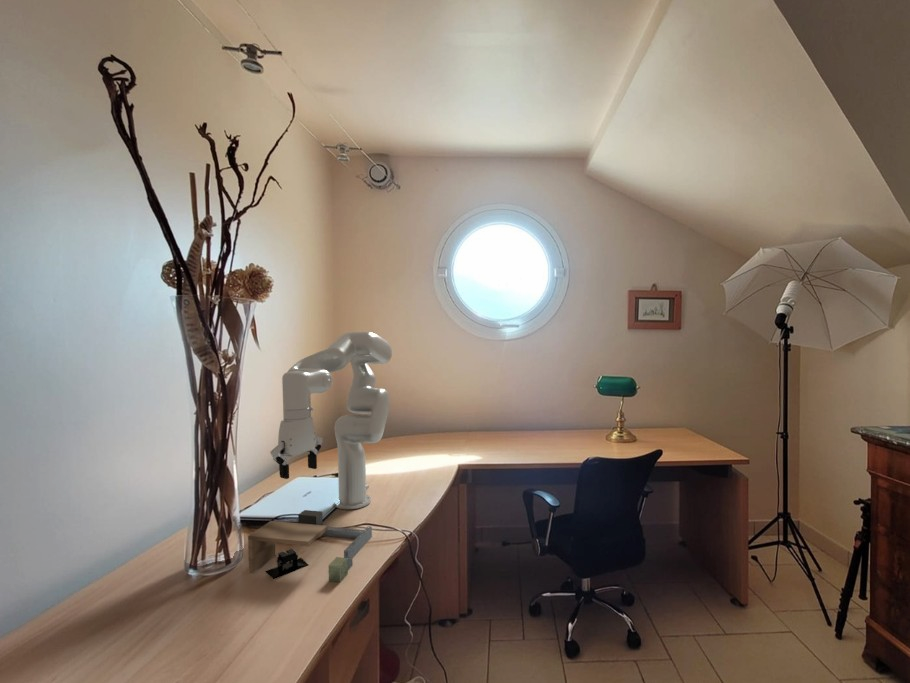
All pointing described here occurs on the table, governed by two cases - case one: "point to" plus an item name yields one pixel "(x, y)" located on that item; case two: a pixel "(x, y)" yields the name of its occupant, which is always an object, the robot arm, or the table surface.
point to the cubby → (278, 540)
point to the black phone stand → (286, 564)
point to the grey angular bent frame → (338, 532)
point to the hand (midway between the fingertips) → (299, 472)
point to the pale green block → (339, 569)
